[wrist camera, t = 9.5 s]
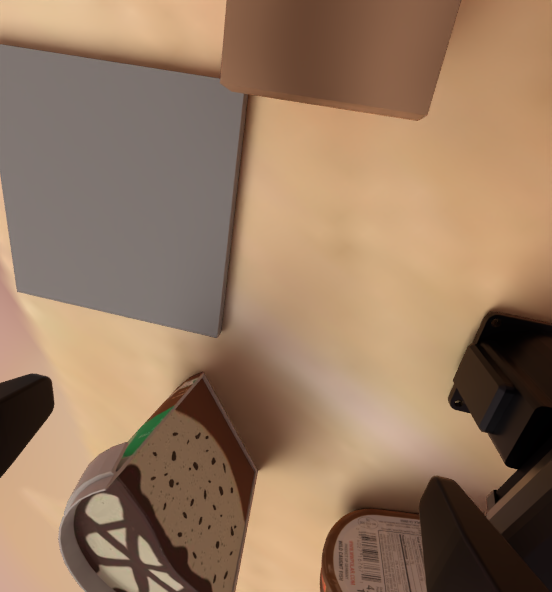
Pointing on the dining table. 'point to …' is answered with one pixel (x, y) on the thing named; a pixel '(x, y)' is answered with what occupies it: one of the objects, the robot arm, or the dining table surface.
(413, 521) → the tin
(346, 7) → the lid
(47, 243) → the mat
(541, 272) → the dining table surface
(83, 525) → the food container
